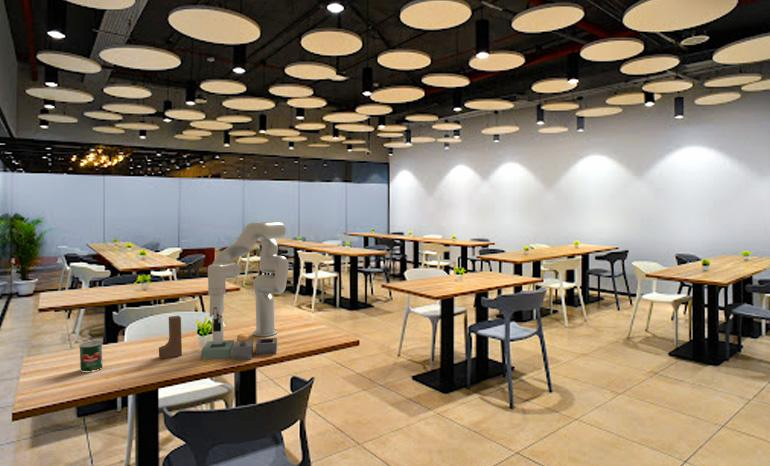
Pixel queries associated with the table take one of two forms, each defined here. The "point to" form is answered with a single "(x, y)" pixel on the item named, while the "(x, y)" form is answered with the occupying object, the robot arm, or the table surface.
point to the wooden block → (172, 339)
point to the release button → (243, 338)
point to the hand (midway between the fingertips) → (217, 329)
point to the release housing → (243, 351)
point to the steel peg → (218, 333)
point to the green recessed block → (217, 350)
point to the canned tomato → (91, 356)
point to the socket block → (266, 346)
